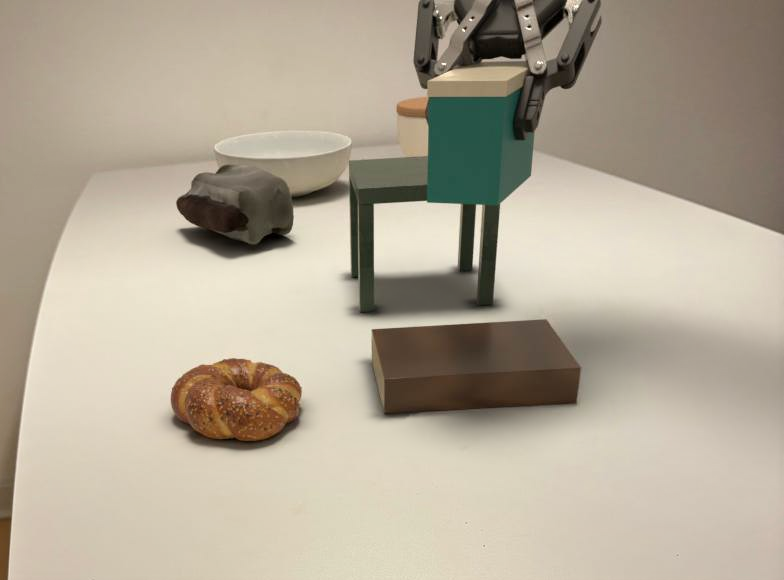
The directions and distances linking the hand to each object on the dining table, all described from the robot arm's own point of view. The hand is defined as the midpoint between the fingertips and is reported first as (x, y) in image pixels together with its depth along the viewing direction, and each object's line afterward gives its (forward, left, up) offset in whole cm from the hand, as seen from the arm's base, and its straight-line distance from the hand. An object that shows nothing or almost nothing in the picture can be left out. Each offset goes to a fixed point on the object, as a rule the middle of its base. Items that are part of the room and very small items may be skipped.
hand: (477, 131), depth 70 cm
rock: (+21, -54, -20) cm, 62 cm away
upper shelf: (0, -28, -20) cm, 35 cm away
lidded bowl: (-11, -94, -20) cm, 97 cm away
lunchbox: (-1, -2, -4) cm, 5 cm away
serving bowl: (+14, -80, -20) cm, 84 cm away
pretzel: (+19, +4, -20) cm, 28 cm away
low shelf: (-1, -1, -20) cm, 20 cm away
